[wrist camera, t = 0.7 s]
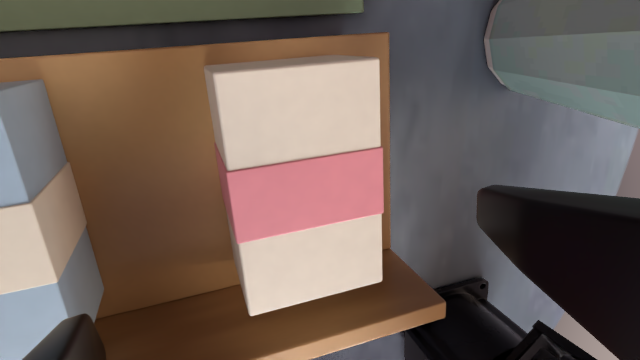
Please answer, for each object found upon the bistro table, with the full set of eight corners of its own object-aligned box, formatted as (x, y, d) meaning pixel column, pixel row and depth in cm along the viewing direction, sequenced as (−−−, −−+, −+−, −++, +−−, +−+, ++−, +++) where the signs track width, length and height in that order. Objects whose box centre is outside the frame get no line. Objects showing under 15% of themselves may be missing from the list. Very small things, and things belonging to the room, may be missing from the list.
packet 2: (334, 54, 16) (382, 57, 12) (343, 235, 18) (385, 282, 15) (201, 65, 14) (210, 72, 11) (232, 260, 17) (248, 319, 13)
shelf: (343, 34, 21) (460, 27, 12) (351, 222, 24) (446, 318, 16) (-150, 69, 15) (-577, 98, 7) (-43, 307, 19) (-227, 527, 10)
